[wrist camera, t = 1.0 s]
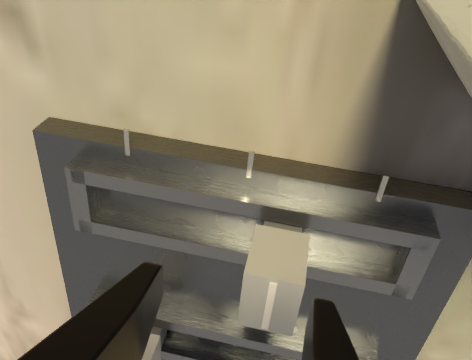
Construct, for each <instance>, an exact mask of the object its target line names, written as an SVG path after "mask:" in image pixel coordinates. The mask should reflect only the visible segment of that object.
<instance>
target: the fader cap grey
mask: <svg viewBox="0 0 472 360" xmlns="http://www.w3.org/2000/svg"><path fill="white" fill-rule="evenodd" d="M309 239H310V235H309V234H304V233H302V227H300V226H295V225H290V224H285V223H280V222H274V221H269V220H265V221H264V225H258V224H256V226H255V230H254V234H253V238H252V242H251V246H250V250H249V254H248V258H247V262H246V266H245V270H244V275H243V282H242V290H241V297H240V304H239V312H238V319H237V325H242V326H246V327H251V328H255V329H260V330H264V331H269V332H273V333H278V334H282V335H287V336H291V337H292V335H293V331H294V327H295V323H296V319H297V316H298V312H299V308H300V304H301V300H302V296H303V292H304V289H305V283H306V272H307V261H308V250H309Z"/></svg>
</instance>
